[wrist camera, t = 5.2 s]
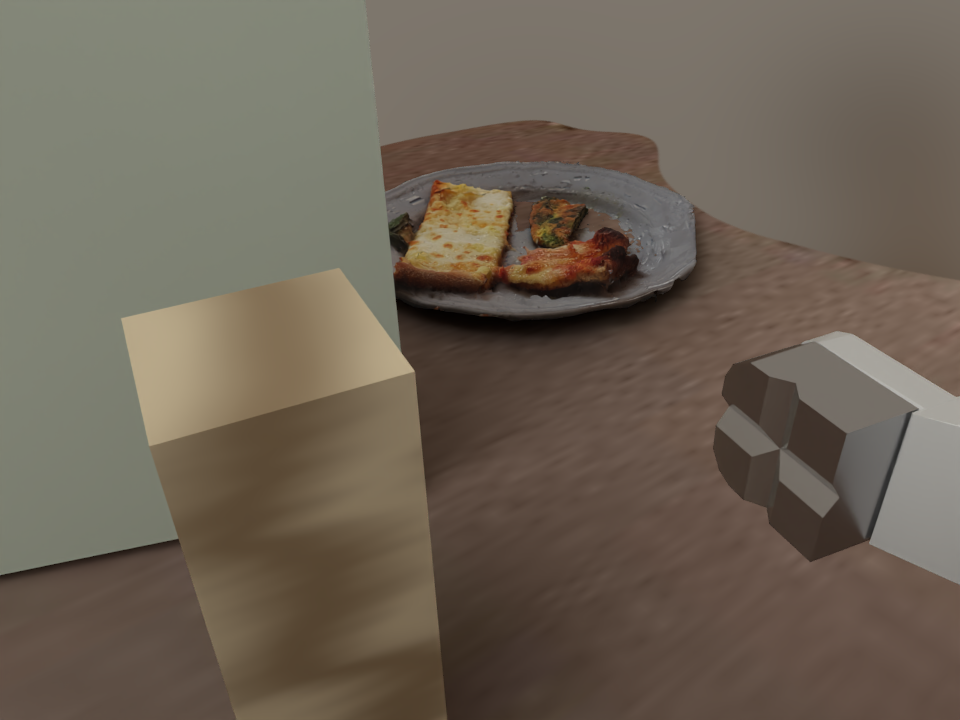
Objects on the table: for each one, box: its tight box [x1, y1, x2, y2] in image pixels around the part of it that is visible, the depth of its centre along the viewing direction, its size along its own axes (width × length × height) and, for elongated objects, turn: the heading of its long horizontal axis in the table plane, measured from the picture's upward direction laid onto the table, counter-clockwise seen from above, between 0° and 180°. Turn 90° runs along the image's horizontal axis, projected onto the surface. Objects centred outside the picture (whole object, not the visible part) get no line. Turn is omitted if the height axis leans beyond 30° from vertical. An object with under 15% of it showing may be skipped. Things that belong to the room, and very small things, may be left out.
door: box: [0, 0, 401, 575], centre depth 30 cm, size 3×22×24 cm, turn 105°
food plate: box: [385, 161, 697, 322], centre depth 59 cm, size 25×23×4 cm
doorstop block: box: [121, 268, 447, 720], centre depth 24 cm, size 6×6×16 cm
